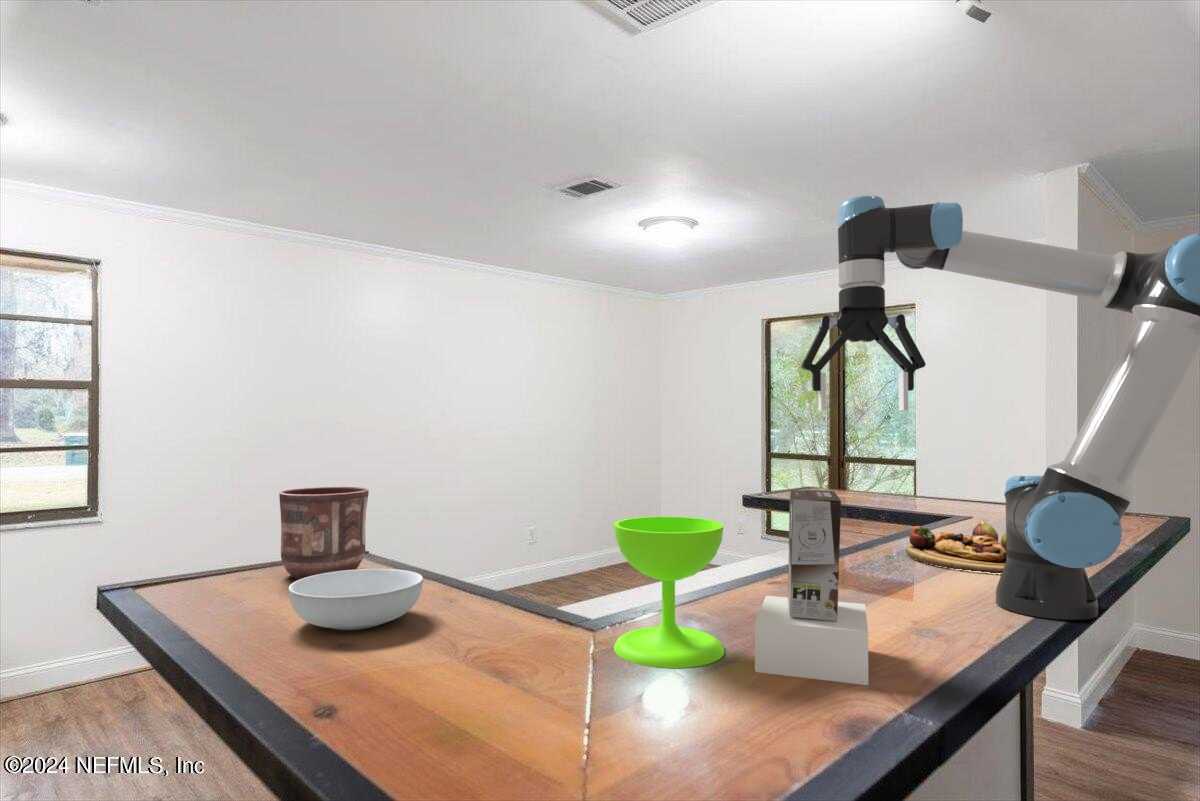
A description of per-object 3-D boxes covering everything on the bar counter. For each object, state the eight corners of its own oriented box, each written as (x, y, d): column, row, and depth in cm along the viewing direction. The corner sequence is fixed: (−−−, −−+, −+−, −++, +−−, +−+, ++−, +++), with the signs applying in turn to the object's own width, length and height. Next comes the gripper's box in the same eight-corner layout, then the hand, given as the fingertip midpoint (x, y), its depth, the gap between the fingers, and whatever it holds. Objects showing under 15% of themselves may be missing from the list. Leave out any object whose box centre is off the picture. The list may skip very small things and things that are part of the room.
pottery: (349, 584, 140) (350, 494, 141) (262, 584, 141) (264, 494, 141) (378, 566, 158) (379, 486, 159) (301, 566, 158) (302, 486, 159)
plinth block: (865, 652, 101) (865, 604, 101) (868, 688, 88) (868, 632, 88) (766, 642, 106) (766, 595, 106) (755, 674, 93) (754, 621, 93)
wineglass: (650, 676, 91) (650, 536, 91) (594, 641, 105) (594, 520, 106) (747, 656, 98) (747, 527, 99) (683, 626, 113) (682, 513, 113)
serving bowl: (448, 613, 120) (448, 573, 120) (359, 651, 101) (359, 603, 101) (356, 600, 129) (356, 562, 129) (257, 632, 110) (258, 588, 110)
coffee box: (839, 622, 92) (842, 500, 92) (788, 617, 94) (791, 497, 93) (833, 601, 101) (835, 489, 101) (786, 597, 103) (789, 487, 102)
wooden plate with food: (887, 563, 162) (888, 528, 162) (926, 543, 187) (926, 512, 187) (1051, 588, 142) (1051, 547, 142) (1070, 561, 166) (1070, 526, 166)
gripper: (929, 290, 124) (930, 410, 124) (784, 293, 127) (785, 410, 127) (944, 282, 117) (946, 409, 116) (791, 285, 120) (792, 410, 119)
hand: (862, 410), depth 121 cm, fingers open, 13 cm apart
